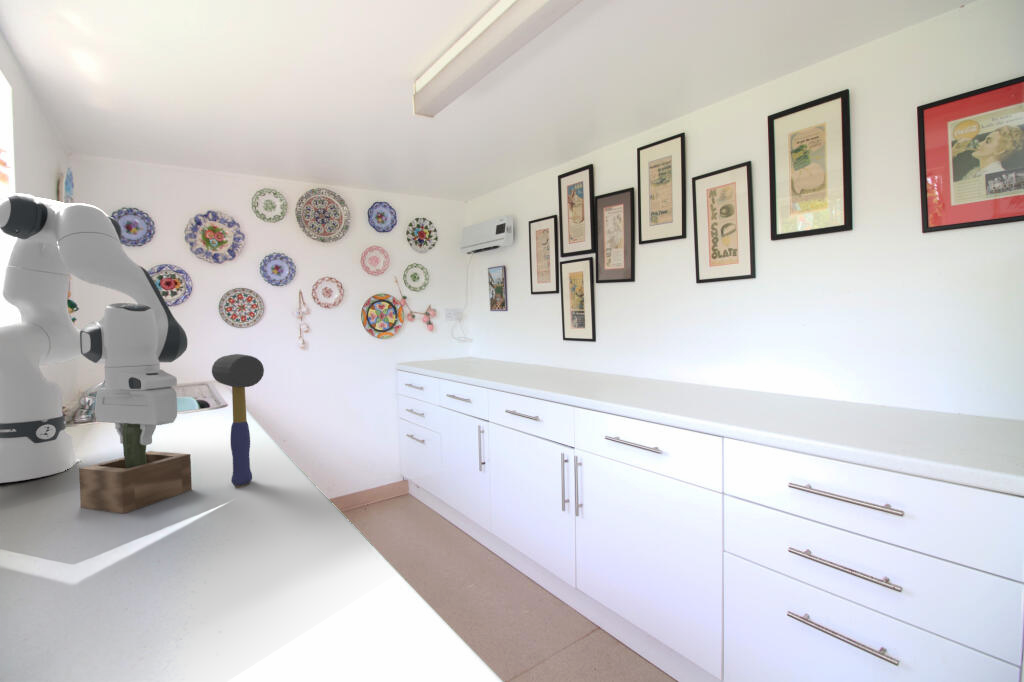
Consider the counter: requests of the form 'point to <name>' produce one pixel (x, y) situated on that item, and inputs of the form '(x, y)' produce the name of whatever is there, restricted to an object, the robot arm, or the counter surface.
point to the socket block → (134, 482)
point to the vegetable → (133, 446)
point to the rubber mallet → (239, 407)
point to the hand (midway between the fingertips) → (136, 444)
